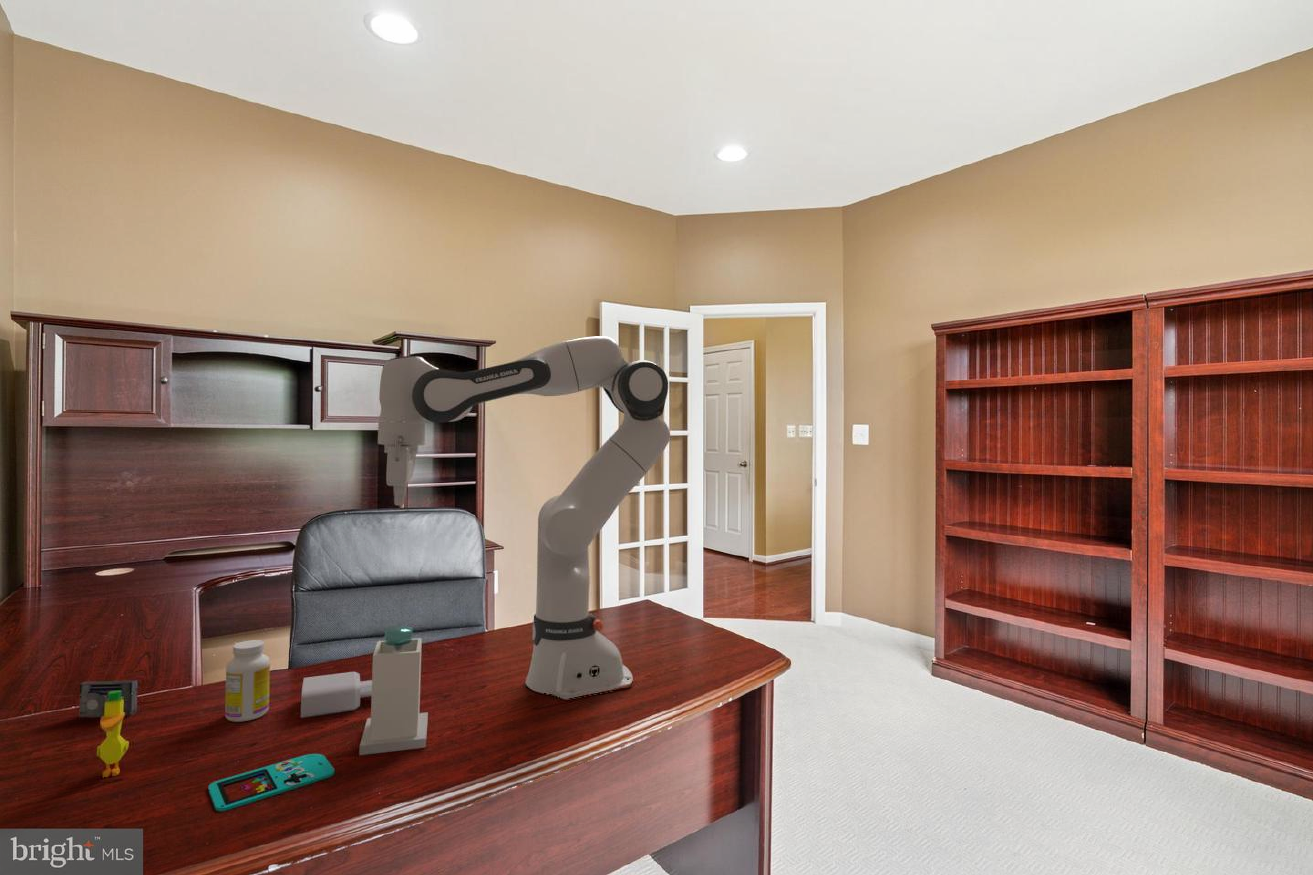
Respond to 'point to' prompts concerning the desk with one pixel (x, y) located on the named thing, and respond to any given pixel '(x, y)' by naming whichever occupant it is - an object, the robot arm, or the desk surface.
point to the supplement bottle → (247, 682)
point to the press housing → (395, 701)
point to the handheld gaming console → (274, 780)
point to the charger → (333, 693)
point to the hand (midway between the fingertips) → (399, 504)
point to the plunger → (398, 637)
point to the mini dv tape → (106, 697)
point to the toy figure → (112, 733)
